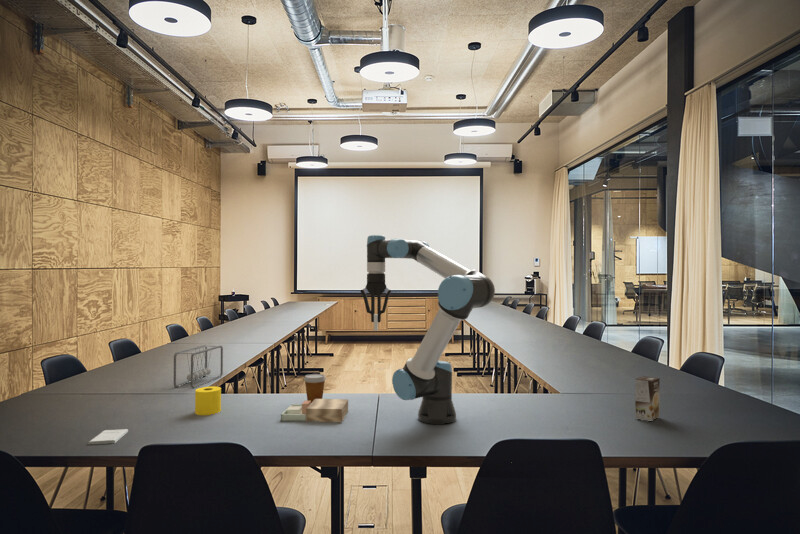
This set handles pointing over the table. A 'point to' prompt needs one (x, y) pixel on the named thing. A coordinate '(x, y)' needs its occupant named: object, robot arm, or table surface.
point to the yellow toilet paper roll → (207, 400)
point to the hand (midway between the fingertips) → (375, 330)
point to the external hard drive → (108, 436)
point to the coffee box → (647, 398)
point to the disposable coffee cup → (314, 386)
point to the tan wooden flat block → (327, 410)
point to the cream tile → (294, 410)
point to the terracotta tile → (305, 406)
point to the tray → (293, 415)
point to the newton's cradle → (198, 373)
